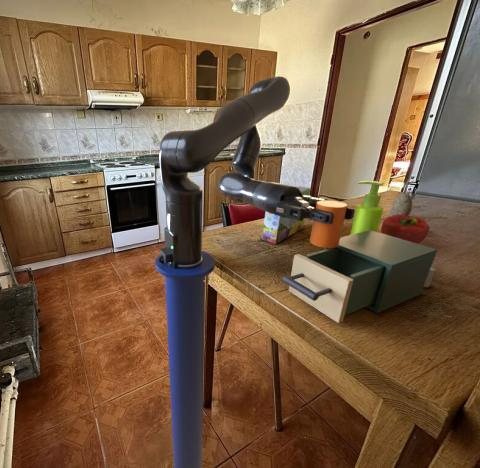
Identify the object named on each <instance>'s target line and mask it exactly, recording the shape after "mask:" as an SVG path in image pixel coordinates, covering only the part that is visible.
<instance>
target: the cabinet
mask: <svg viewBox="0 0 480 468" xmlns="http://www.w3.org/2000/svg"><path fill="white" fill-rule="evenodd" d="M336 248H339V249H341V250H344V251H346V252H349V253H351V254H354V255H357V256H359V257H362V258H364V259H367V260H370V261H372V262H375V263H377V264H380V265H382V266H385V267H386V271H385V274H384V277H383V280H382V283H381V287H380V290H379V293H378V296H377V300H376V303H374V304H371V305H369V306H366V307H365V308H367V309H368V310H371V311H372V312H374V313H376V314H379V313H381V312H383V311H386V310H388V309H390V308H393V307H395V306H397V305H399V304H402V303H404V302H406V301H408V300H411V299H413V298H416V297H418V296H420V295H421V294H422V291H423V289H424V287H423V286H424V284H425V281H426V278H427V276H428V273H429V271H430V268H432V265H433V263H434V260H435V257H436V254H437V252H438V249H437V248H434V247H430V246H427V245H423V244H421V243H420V244H417V243H413V242H410V241H406V240H403V239H399V238H396V237H393V236H389V235H386V234H382V233H381V232H378V231H377V232H375V231H372V230H368V231H365V232H361V233H357V234H353V235H350V234H349V235H345V236H340V240H339V245H338V246H337V247H336ZM325 249H329V248H325Z"/></svg>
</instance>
